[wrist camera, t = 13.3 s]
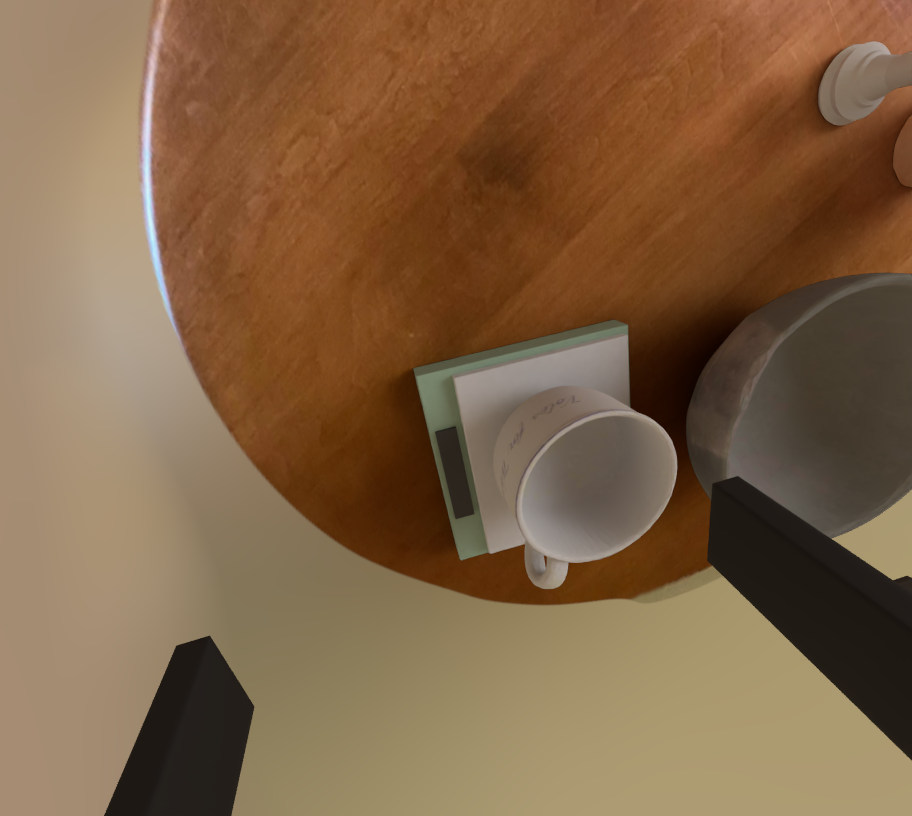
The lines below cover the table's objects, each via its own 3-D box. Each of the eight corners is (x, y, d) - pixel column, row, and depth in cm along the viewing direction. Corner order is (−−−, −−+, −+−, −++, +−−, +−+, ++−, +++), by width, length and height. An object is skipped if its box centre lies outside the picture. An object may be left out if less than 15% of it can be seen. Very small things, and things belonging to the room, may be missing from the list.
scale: (455, 545, 40) (462, 567, 37) (412, 368, 33) (417, 380, 30) (621, 497, 41) (638, 515, 39) (614, 319, 34) (634, 326, 32)
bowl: (776, 494, 45) (881, 562, 36) (604, 465, 40) (675, 537, 30) (890, 298, 39) (1053, 320, 29) (703, 231, 33) (832, 233, 24)
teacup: (530, 345, 31) (582, 382, 24) (642, 405, 35) (717, 454, 27) (437, 504, 34) (457, 579, 27) (548, 543, 38) (592, 619, 31)
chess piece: (803, 91, 31) (939, 50, 23) (856, 27, 30) (1015, -37, 23) (835, 141, 32) (971, 117, 25) (885, 82, 32) (1042, 39, 24)
